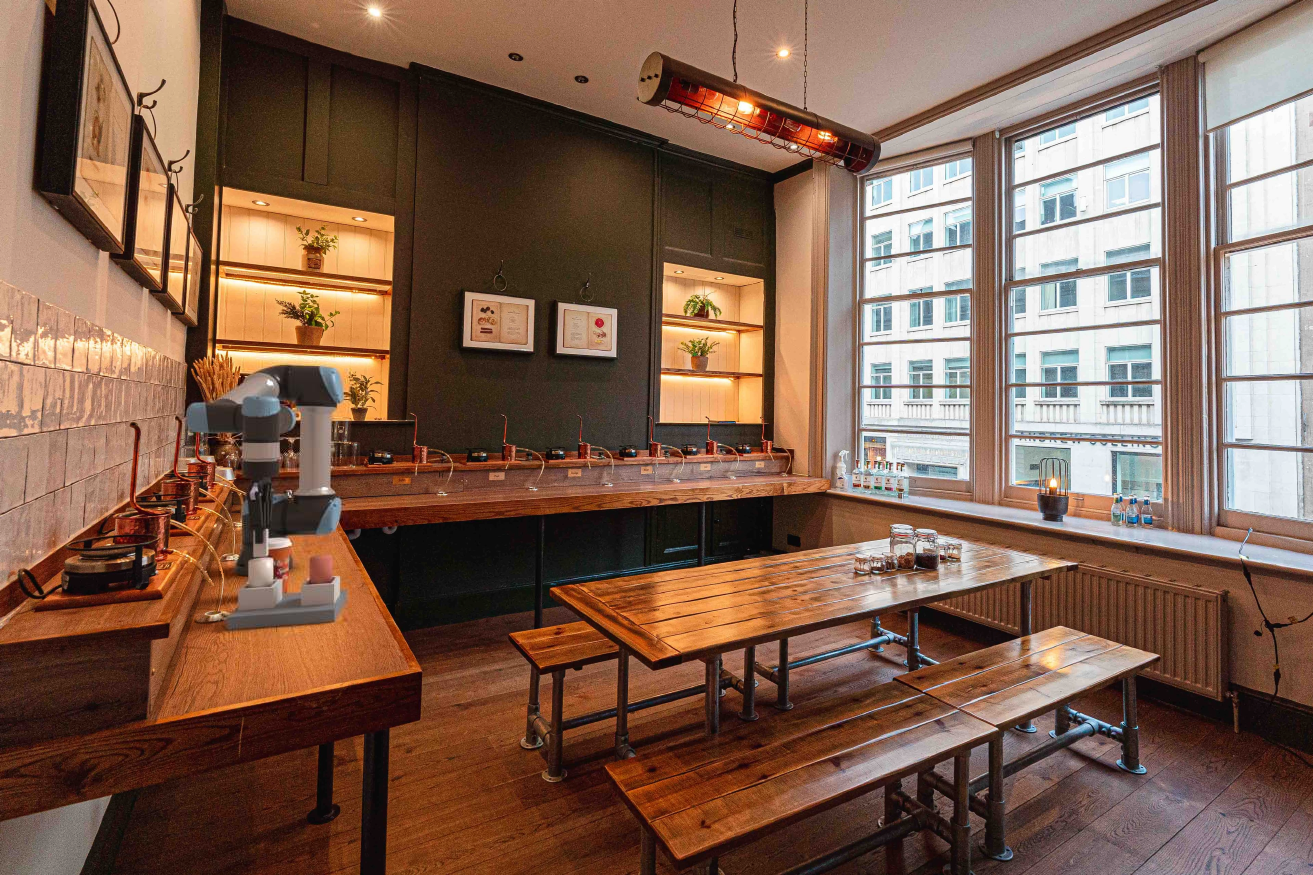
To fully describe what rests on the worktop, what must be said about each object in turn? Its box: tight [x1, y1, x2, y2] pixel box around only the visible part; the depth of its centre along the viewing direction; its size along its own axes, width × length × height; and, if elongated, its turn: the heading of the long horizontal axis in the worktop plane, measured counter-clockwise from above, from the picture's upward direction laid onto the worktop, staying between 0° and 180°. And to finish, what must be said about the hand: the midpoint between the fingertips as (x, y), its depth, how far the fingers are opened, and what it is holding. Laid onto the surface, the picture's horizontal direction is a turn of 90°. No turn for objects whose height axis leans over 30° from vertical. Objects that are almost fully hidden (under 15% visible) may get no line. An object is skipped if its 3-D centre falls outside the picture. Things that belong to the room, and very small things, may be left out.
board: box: [226, 575, 348, 631], centre depth 143 cm, size 16×22×8 cm
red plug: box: [309, 554, 334, 585], centre depth 145 cm, size 5×5×7 cm
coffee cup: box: [258, 537, 293, 594], centre depth 157 cm, size 8×8×15 cm
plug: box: [247, 558, 273, 588], centre depth 140 cm, size 5×5×7 cm
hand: (260, 555), depth 140 cm, fingers closed
